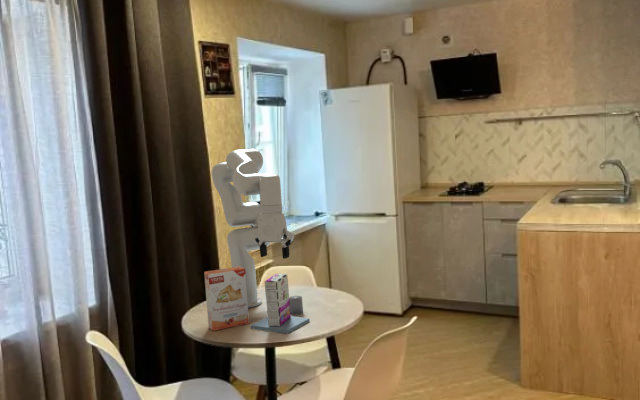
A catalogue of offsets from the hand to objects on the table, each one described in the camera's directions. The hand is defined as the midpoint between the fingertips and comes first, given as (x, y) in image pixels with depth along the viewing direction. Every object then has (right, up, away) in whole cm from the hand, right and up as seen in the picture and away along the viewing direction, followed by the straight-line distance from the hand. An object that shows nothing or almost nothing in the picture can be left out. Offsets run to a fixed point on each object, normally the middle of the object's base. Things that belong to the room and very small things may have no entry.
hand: (274, 257), depth 203 cm
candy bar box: (+2, -24, +2) cm, 24 cm away
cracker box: (-17, -26, +6) cm, 32 cm away
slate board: (+2, -25, +2) cm, 25 cm away
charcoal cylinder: (+7, -23, +16) cm, 29 cm away
